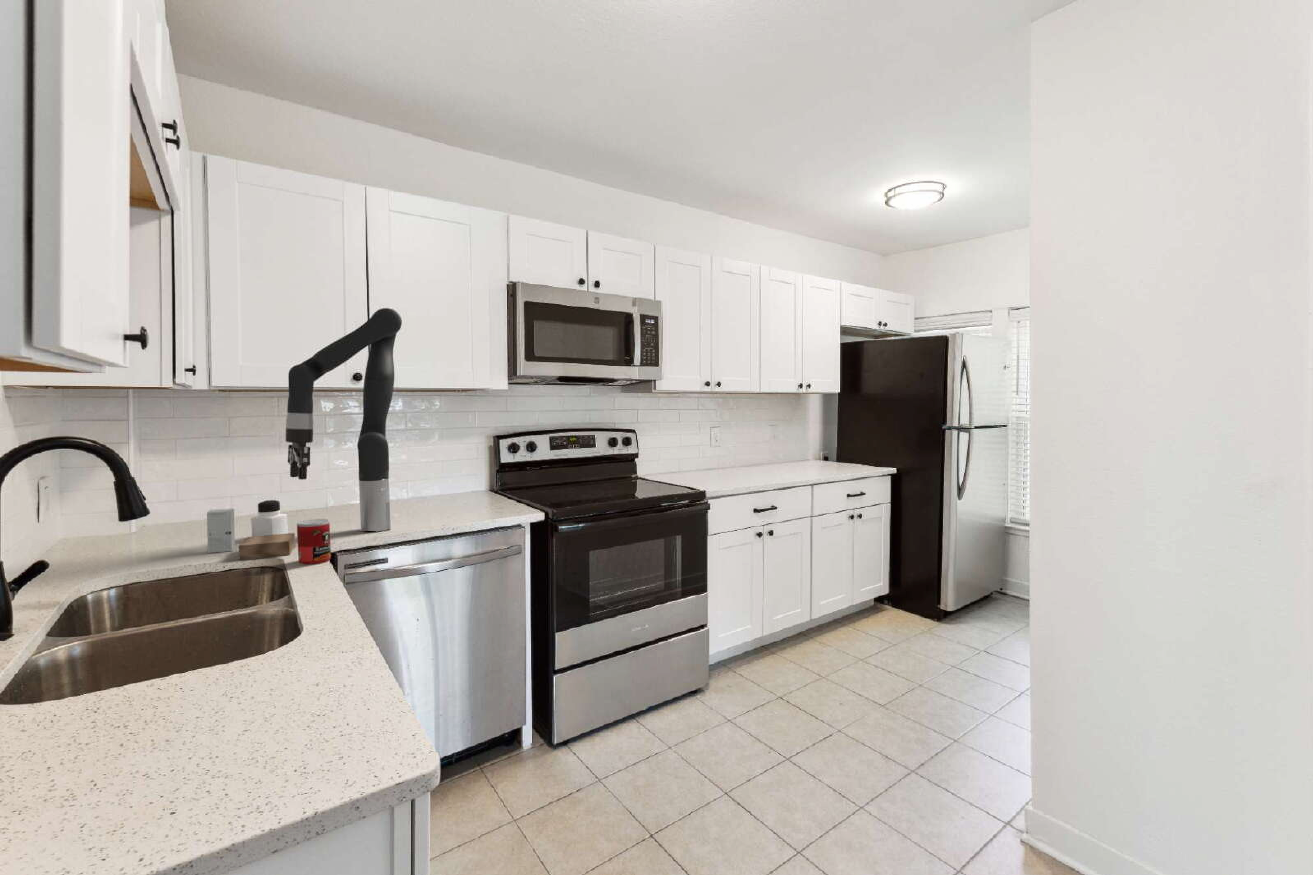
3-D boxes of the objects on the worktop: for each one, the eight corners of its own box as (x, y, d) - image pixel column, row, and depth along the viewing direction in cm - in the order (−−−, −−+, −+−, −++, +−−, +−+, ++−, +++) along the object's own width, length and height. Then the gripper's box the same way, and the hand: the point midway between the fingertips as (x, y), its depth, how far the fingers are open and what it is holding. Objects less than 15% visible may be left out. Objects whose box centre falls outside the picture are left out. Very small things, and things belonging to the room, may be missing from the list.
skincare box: (207, 553, 174) (205, 512, 173) (211, 550, 178) (209, 509, 177) (233, 551, 176) (230, 510, 176) (236, 547, 180) (234, 508, 180)
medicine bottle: (288, 535, 197) (286, 499, 196) (272, 540, 190) (270, 502, 189) (268, 535, 198) (266, 499, 197) (251, 540, 191) (249, 502, 190)
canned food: (317, 565, 160) (315, 524, 159) (291, 564, 161) (289, 523, 161) (337, 558, 168) (336, 519, 167) (312, 557, 169) (310, 518, 168)
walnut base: (295, 545, 182) (294, 532, 182) (289, 555, 171) (288, 541, 171) (248, 550, 177) (247, 536, 177) (239, 559, 166) (238, 545, 166)
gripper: (320, 428, 189) (318, 479, 190) (305, 427, 199) (304, 475, 199) (293, 428, 184) (291, 480, 184) (279, 426, 194) (278, 476, 194)
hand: (298, 478), depth 192 cm, fingers open, 8 cm apart
